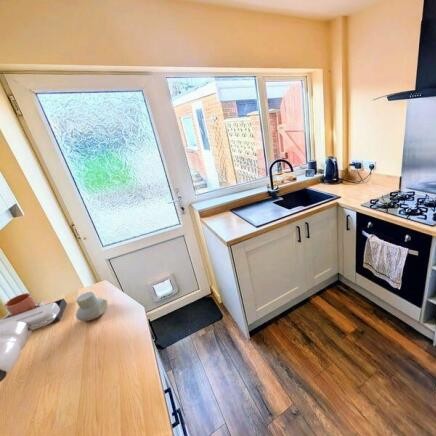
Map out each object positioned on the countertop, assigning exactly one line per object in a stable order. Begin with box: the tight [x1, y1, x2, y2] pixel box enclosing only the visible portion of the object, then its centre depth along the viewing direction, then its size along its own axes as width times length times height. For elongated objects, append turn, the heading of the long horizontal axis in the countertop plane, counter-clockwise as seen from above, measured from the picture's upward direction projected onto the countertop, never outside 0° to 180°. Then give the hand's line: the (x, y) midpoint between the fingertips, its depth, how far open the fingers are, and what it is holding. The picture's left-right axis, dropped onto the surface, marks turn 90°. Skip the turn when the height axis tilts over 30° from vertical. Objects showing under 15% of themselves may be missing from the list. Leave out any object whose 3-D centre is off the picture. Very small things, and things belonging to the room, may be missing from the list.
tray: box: [32, 298, 68, 332], centre depth 105 cm, size 12×12×3 cm
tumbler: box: [3, 292, 38, 316], centre depth 86 cm, size 6×6×11 cm
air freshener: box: [75, 291, 108, 322], centre depth 102 cm, size 11×8×10 cm
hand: (26, 309), depth 86 cm, fingers closed on tumbler, 6 cm apart
